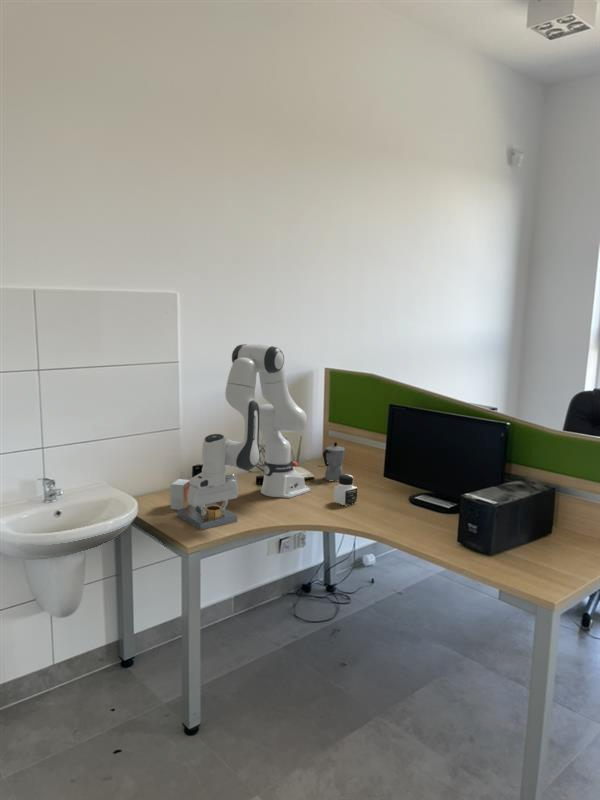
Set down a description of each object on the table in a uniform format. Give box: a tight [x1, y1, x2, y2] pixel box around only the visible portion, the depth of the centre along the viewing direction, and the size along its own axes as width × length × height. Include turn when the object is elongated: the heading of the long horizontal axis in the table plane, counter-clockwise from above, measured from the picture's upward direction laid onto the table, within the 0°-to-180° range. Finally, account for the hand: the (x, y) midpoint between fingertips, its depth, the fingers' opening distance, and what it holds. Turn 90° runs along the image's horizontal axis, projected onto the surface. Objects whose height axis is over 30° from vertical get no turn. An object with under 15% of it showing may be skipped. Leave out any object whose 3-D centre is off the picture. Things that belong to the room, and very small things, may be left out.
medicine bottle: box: [333, 473, 358, 506], centre depth 257 cm, size 7×7×12 cm
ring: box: [204, 504, 223, 519], centre depth 229 cm, size 7×7×3 cm
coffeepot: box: [322, 442, 346, 482], centre depth 290 cm, size 15×9×18 cm, turn 138°
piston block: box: [176, 502, 239, 531], centre depth 233 cm, size 16×18×8 cm
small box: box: [170, 478, 192, 511], centre depth 245 cm, size 8×6×10 cm
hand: (213, 513), depth 229 cm, fingers closed on ring, 7 cm apart
